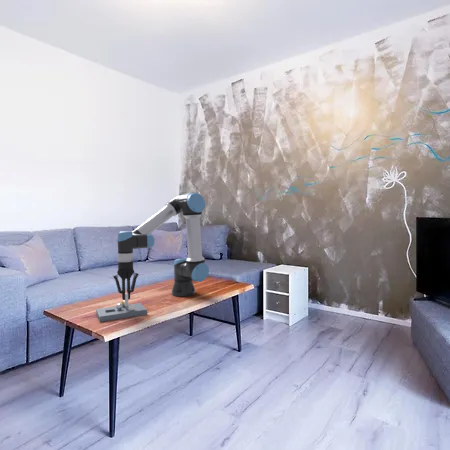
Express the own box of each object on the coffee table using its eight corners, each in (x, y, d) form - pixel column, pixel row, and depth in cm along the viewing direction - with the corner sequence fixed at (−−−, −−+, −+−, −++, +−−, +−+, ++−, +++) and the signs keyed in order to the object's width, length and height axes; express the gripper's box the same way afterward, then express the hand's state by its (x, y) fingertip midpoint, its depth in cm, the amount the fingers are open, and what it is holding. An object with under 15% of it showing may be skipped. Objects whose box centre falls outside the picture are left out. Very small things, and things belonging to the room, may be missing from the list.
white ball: (134, 309, 165) (134, 303, 165) (136, 310, 162) (136, 304, 162) (128, 310, 164) (128, 304, 164) (129, 311, 161) (129, 305, 161)
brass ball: (127, 305, 173) (126, 299, 173) (128, 306, 170) (128, 300, 170) (120, 306, 171) (120, 300, 171) (122, 307, 168) (121, 301, 168)
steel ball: (115, 309, 165) (121, 308, 167) (116, 310, 163) (123, 310, 164) (116, 302, 165) (122, 302, 167) (117, 304, 163) (123, 304, 164)
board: (140, 307, 177) (140, 302, 177) (147, 314, 165) (146, 309, 165) (96, 313, 166) (96, 309, 166) (99, 321, 154) (99, 316, 154)
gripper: (136, 259, 172) (137, 302, 173) (111, 261, 166) (112, 305, 167) (139, 261, 165) (140, 305, 166) (113, 262, 159) (114, 309, 160)
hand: (126, 305), depth 166 cm, fingers closed
